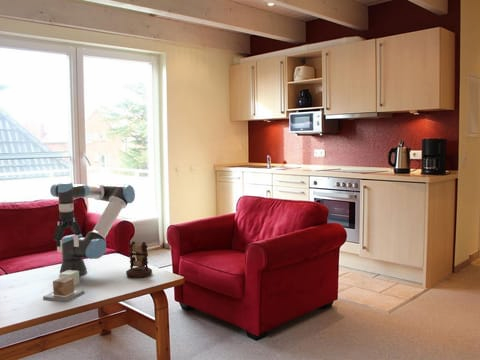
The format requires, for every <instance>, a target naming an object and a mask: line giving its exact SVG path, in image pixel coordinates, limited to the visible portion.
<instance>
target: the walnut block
mask: <svg viewBox="0 0 480 360" xmlns="http://www.w3.org/2000/svg"><path fill="white" fill-rule="evenodd" d="M52 287H53V288H52V290H53V291H52V292H54V295H61V296H66V295H68V294H70V293H72V292H74V289H75V285H74V278H65V277H62V278H60V277H59V278H57V279H55V280H52Z"/></svg>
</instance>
